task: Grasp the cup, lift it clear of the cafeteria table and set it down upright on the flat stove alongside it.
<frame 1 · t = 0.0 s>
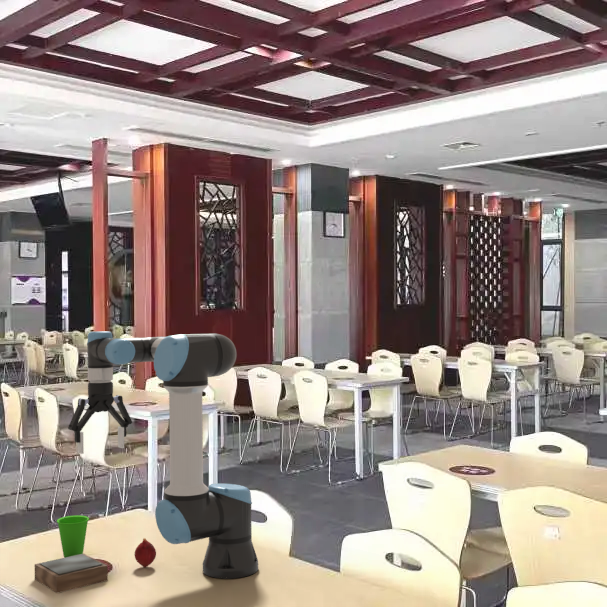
hand: (101, 450, 253), 28 cm above the table, fingers open, 13 cm apart
onion: (145, 567, 228), on the table
flat stove: (71, 579, 218), on the table
cup: (73, 558, 237), on the table
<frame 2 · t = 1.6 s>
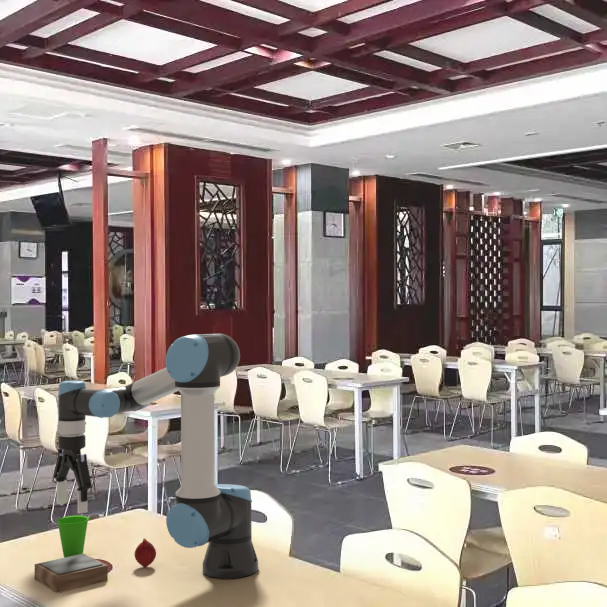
hand: (72, 508, 238), 14 cm above the table, fingers open, 13 cm apart
nothing on the table moved.
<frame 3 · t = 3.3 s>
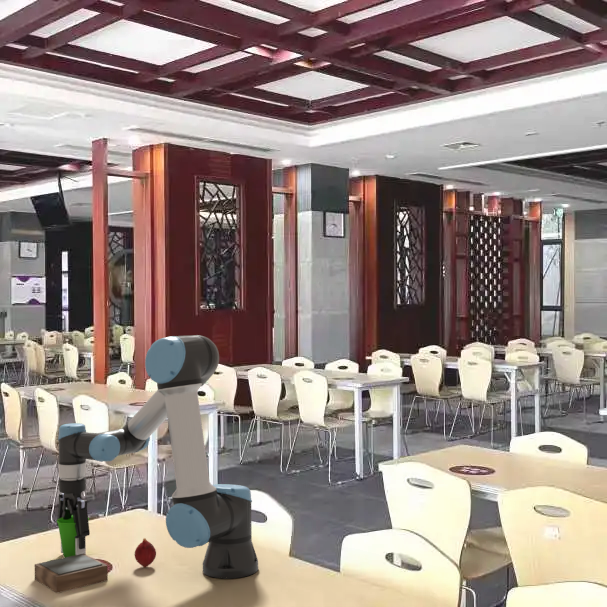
hand: (73, 555, 237), 1 cm above the table, fingers closed on cup, 9 cm apart
cup: (73, 558, 237), on the table, touching gripper
everything else where it was.
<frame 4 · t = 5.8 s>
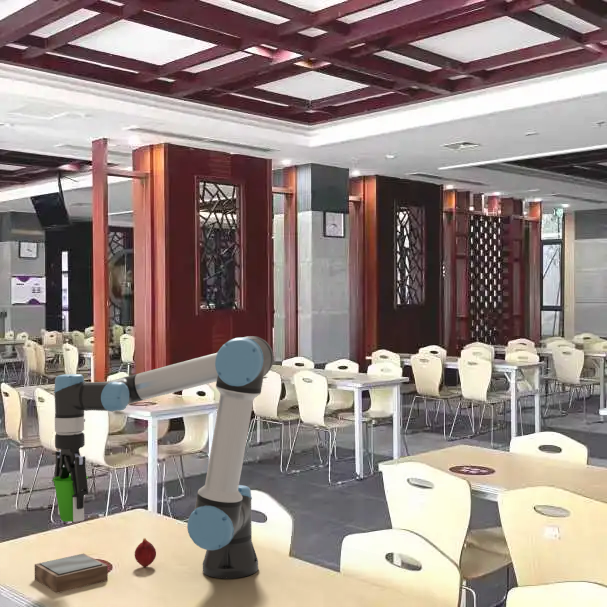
hand: (71, 517, 219), 16 cm above the table, fingers closed on cup, 9 cm apart
cup: (70, 519, 219), point 16 cm above the table, touching gripper
everything else where it was.
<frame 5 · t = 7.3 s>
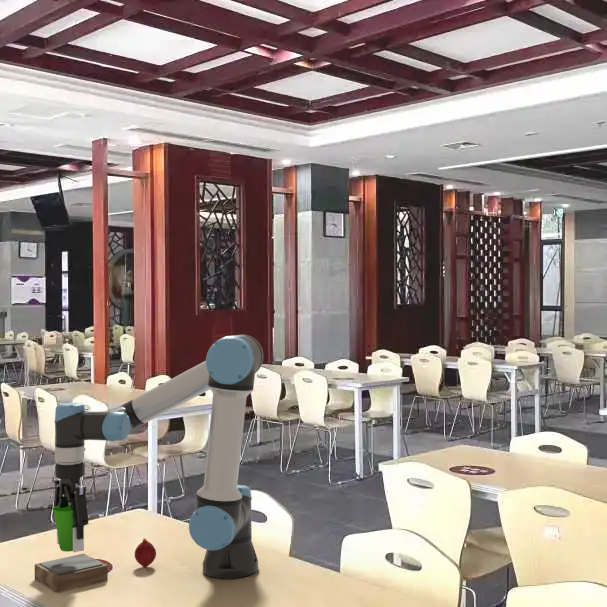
hand: (70, 546, 218), 9 cm above the table, fingers closed on cup, 9 cm apart
cup: (70, 549, 218), point 8 cm above the table, touching gripper
everything else where it was.
when the fingers open (6 cm above the table, at t = 8.3 s): cup drops 1 cm, resting on flat stove.
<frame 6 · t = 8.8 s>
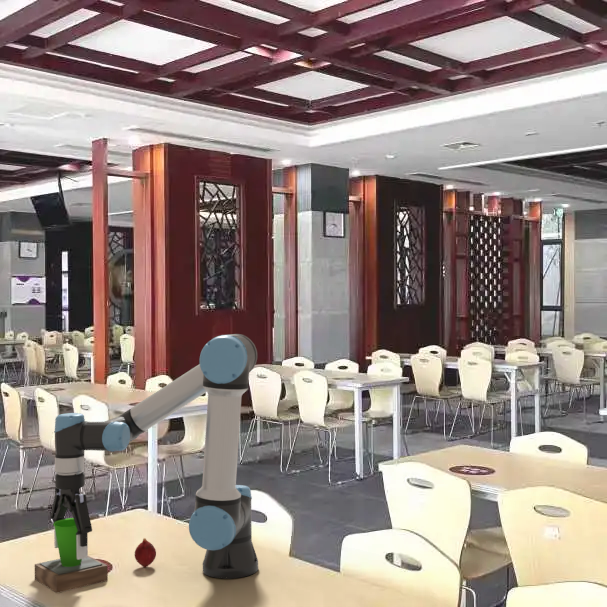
hand: (70, 552, 218), 7 cm above the table, fingers open, 13 cm apart
cup: (71, 564, 218), point 4 cm above the table, touching flat stove
everything else where it was.
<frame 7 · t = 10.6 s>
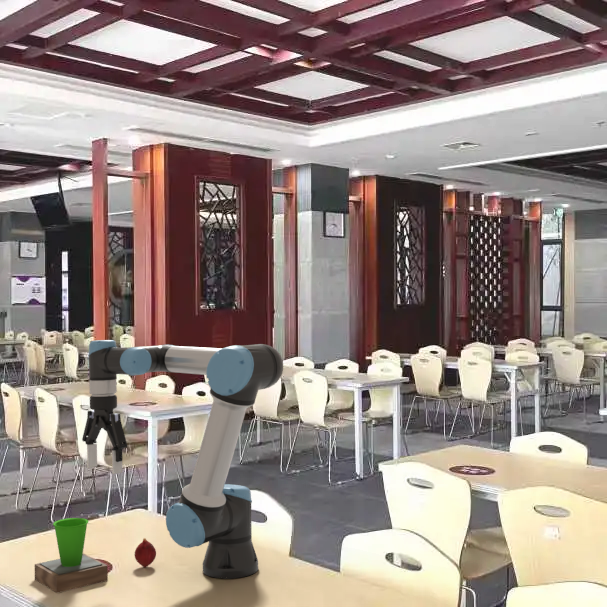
hand: (104, 470, 232), 26 cm above the table, fingers open, 13 cm apart
nothing on the table moved.
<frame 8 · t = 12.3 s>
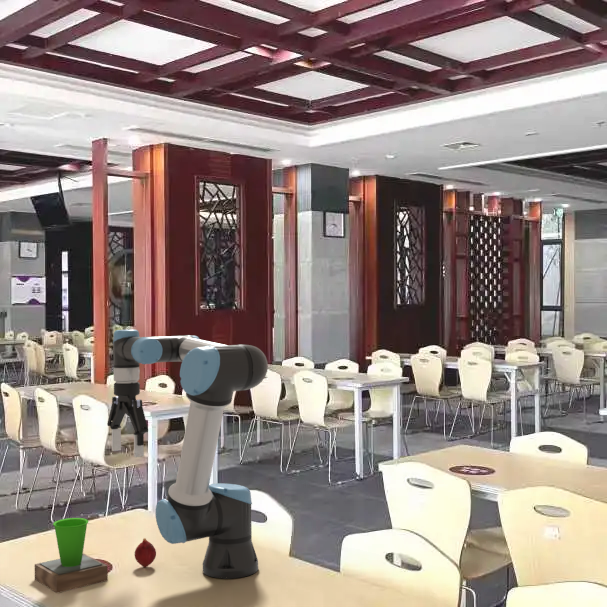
hand: (127, 453, 243), 29 cm above the table, fingers open, 13 cm apart
nothing on the table moved.
at the end: cup inside the target area on the flat stove (0.3 cm from its centre), point 4.1 cm above the flat stove's base; cup tilted 0°; cup touching flat stove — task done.
